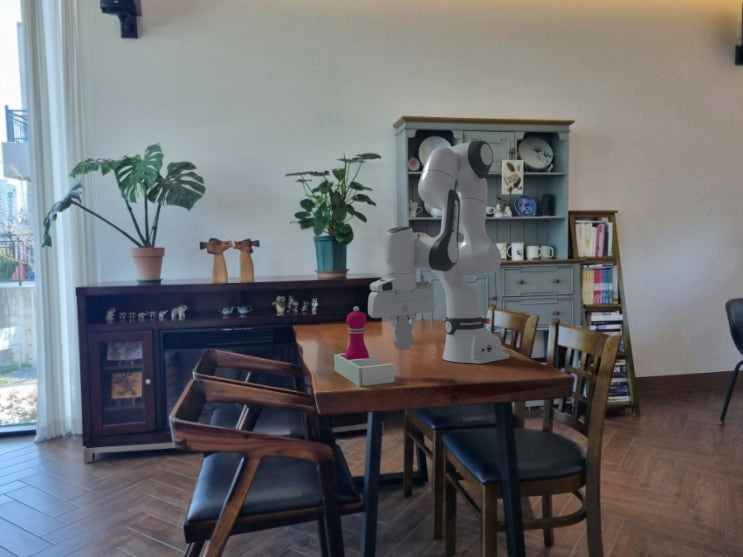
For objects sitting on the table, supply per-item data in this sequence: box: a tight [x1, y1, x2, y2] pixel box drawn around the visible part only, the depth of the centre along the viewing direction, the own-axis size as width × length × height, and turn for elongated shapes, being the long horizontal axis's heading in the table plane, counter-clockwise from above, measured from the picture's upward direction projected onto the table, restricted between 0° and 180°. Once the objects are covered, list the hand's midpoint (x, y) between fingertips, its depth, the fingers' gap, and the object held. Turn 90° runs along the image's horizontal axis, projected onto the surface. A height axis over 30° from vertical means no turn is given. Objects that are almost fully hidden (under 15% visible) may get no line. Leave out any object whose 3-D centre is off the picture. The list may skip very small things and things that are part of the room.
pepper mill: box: [345, 306, 370, 360], centre depth 150 cm, size 7×7×20 cm
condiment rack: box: [333, 352, 395, 387], centre depth 146 cm, size 10×21×5 cm, turn 23°
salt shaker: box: [392, 306, 414, 351], centre depth 145 cm, size 6×6×13 cm
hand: (402, 330), depth 145 cm, fingers closed on salt shaker, 3 cm apart
